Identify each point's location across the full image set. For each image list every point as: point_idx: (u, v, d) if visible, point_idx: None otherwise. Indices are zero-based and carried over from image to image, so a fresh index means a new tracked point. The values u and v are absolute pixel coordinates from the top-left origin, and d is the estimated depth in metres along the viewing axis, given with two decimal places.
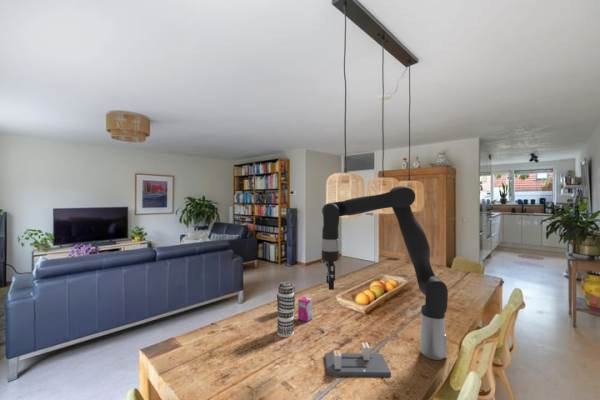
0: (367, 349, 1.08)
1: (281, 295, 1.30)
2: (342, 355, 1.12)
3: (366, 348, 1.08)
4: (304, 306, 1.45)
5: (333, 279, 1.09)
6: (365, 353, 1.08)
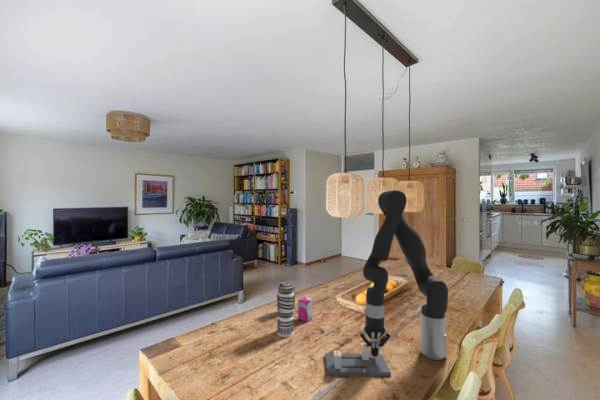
0: (366, 349, 1.08)
1: (281, 295, 1.30)
2: (342, 355, 1.12)
3: (365, 348, 1.08)
4: (304, 306, 1.45)
5: None
6: (364, 353, 1.08)
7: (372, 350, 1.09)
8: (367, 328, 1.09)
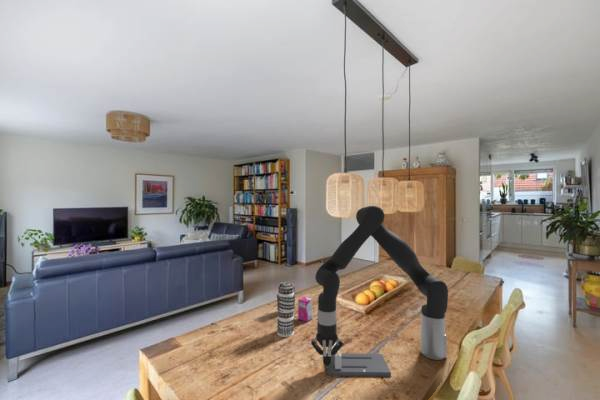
0: None
1: (281, 295, 1.30)
2: (342, 355, 1.12)
3: None
4: (304, 306, 1.45)
5: None
6: None
7: (324, 359, 1.04)
8: (318, 335, 1.03)
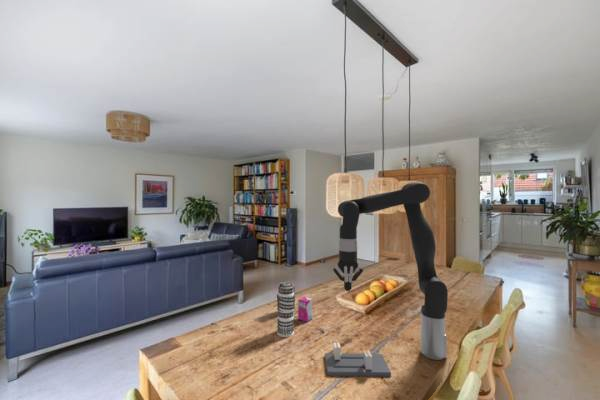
0: (338, 349, 1.08)
1: (281, 295, 1.30)
2: (342, 355, 1.12)
3: (337, 348, 1.08)
4: (304, 306, 1.45)
5: None
6: (336, 353, 1.08)
7: (345, 285, 1.10)
8: (340, 263, 1.10)
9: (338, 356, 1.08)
